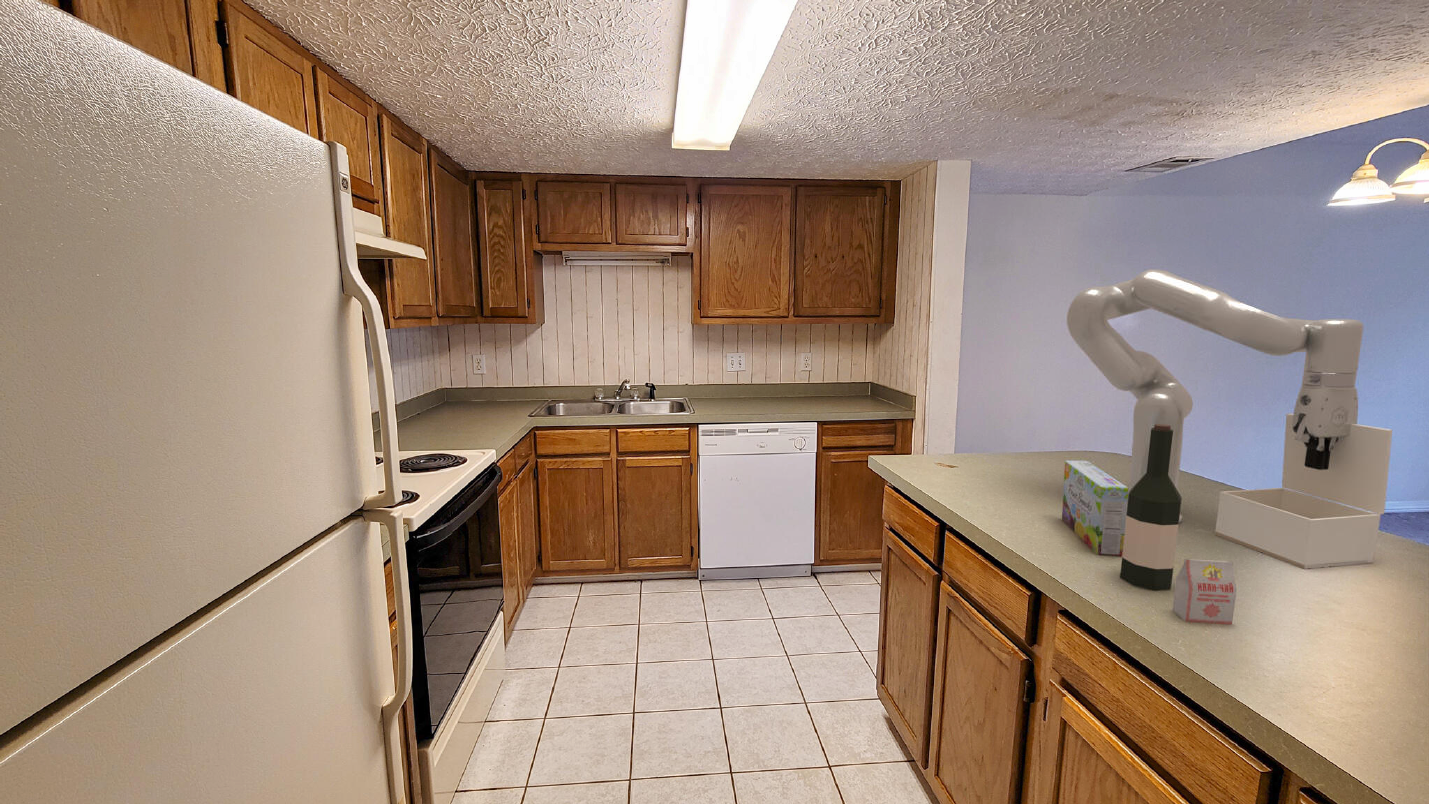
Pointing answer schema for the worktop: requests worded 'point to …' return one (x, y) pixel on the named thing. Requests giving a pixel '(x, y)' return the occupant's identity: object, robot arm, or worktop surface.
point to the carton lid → (1343, 468)
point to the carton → (1298, 527)
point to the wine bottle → (1152, 519)
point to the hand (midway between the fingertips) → (1316, 467)
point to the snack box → (1095, 507)
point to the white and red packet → (1205, 591)
